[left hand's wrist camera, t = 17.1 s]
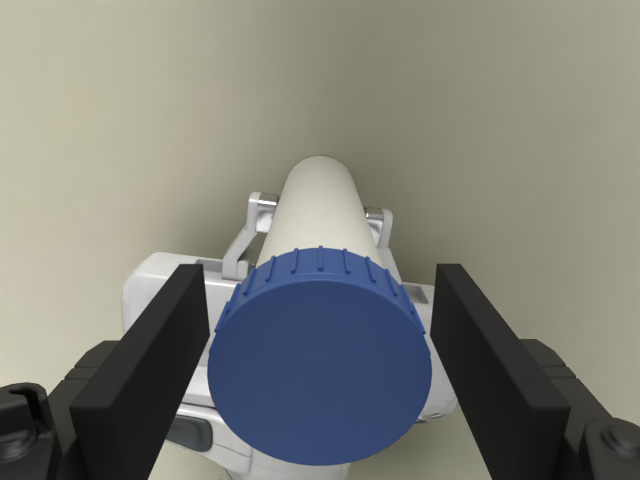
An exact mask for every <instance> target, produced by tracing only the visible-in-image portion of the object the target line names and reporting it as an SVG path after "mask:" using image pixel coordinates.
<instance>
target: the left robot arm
mask: <svg viewBox="0 0 640 480" xmlns="http://www.w3.org/2000/svg"><path fill="white" fill-rule="evenodd" d="M209 338H210V328H209V318H208V308H207V298H206V289H205V279H204V269H203V264H179V266H178V267H177V268H176V269H175V271H174V272H173V273H172V274H171V276H170V277H169V278H168V280H167V281H166V282H165V283H164V285H163V286H162V287H161V289H160V290H159V291H158V292H157V294H156V295H155V296H154V298H153V299H152V300H151V301H150V303H149V304H148V305H147V307H146V308H145V309H144V310H143V312H142V313H141V314H140V316H139V317H138V318H137V319H136V321H135V322H134V323H133V325H132V326H131V327H130V328H129V330H128V331H127V332H126V334H125V335H124V336H123V337H122V339H121V340H120V341H103V342H101V343H100V344H98V345H97V346H95V347H94V348H92V349H90V350H89V351H87V352H86V353H85V354H84V355H83V357H82V358H81V359H80V360H79V361H78V362H77V363H76V365H75V367H74V368H72V369H71V370H70V371H69V373H68V374H67V375H66V376H65V379H64V380H62V381H61V382H60V383H59V384H58V385H57V386H56V388H55V389H54V390H53V391H52V392H51V393H50V394H49V396H48V397H47V394H46V390H45V389H44V388H43V387H42V386H40V385H39V384H35V383H28V382H26V383H17V384H11V385H7V386H4V387H1V388H0V480H148V478H149V475H150V473H151V471H152V468H153V466H154V464H155V462H156V459H157V457H158V455H159V452H160V450H161V448H162V445H163V443H164V441H165V439H166V436H167V434H168V432H169V429H170V427H171V425H172V423H173V420H174V418H175V416H176V413H177V411H178V409H179V406H180V404H181V402H182V400H183V397H184V395H185V393H186V390H187V388H188V386H189V384H190V381H191V379H192V377H193V374H194V372H195V370H196V367H197V365H198V363H199V361H200V358H201V356H202V354H203V351H204V349H205V347H206V344H207V342H208V340H209ZM430 338H431V340H432V342H433V344H434V347H435V349H436V351H437V354H438V356H439V358H440V361H441V363H442V365H443V367H444V370H445V372H446V374H447V377H448V379H449V381H450V384H451V386H452V388H453V390H454V393H455V395H456V397H457V400H458V402H459V404H460V406H461V409H462V411H463V413H464V416H465V418H466V420H467V423H468V425H469V427H470V429H471V432H472V434H473V436H474V439H475V441H476V443H477V445H478V448H479V450H480V452H481V455H482V457H483V459H484V462H485V464H486V466H487V468H488V471H489V473H490V475H491V478H492V480H640V427H639V426H637V425H635V424H633V423H631V422H628V421H625V420H622V419H619V418H613V417H612V416H611V415H610V414H609V413H608V412H607V411H606V410H605V408H604V407H603V406H602V405H601V404H600V403H599V402H598V400H597V399H596V398H595V397H594V396H593V395H592V394H591V392H590V391H589V390H588V389H587V388H586V387H585V386H584V384H583V383H582V382H581V381H580V380H579V379H576V375H575V374H574V373H573V372H572V371H571V370H570V368H569V367H566V364H565V363H564V362H563V360H562V359H561V358H560V357H559V356H558V355H557V354H556V352H555V351H554V350H552V349H550V348H549V347H547V346H546V345H544V344H543V343H541V342H540V341H538V340H536V339H518V337H517V336H516V335H515V334H514V332H513V331H512V330H511V328H510V327H509V326H508V325H507V323H506V322H505V321H504V319H503V318H502V317H501V316H500V314H499V313H498V312H497V310H496V309H495V308H494V307H493V305H492V304H491V303H490V301H489V300H488V299H487V298H486V296H485V295H484V294H483V292H482V291H481V290H480V289H479V287H478V286H477V285H476V283H475V282H474V281H473V280H472V278H471V277H470V276H469V274H468V273H467V272H466V271H465V269H464V268H463V267H462V266H461V264H437V269H436V279H435V289H434V298H433V308H432V318H431V328H430Z"/></svg>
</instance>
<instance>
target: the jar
mask: <svg viewBox="0 0 640 480" xmlns="http://www.w3.org/2000/svg"><path fill="white" fill-rule="evenodd" d="M319 246H323V248H333V249H340V250H343V248H345V249H347V251H348V252H352V253H355V254H358V255H360V256H363V257H366V256H368V257H370V260H371V261H373V262H374V263H376V264H378V265H379V266H380V267H382V268H383V269H384V266H383V264H382V261H381V258H380V255H379V252H378V249H377V246H376V244H375V241H374V238H373V235H372V232H371V229H370V226H369V224H368V221H367V218H366V215H365V212H364V209H363V206H362V204H361V201H360V198H359V195H358V192H357V189H356V186H355V184H354V181H353V178H352V176H351V174H350V172H349V171H348V169H347V168H346V167H345V166H344V165H343V164H342V163H340V162H339V161H337V160H335V159H333V158H330V157H326V156H313V157H309V158H306V159H304V160H302V161H300V162H299V163H298V164H296V165H295V166H294V167H293V169H292V170H291V171H290V173H289V174H288V177H287V179H286V182H285V185H284V188H283V190H282V193H281V196H280V199H279V202H278V205H277V208H276V210H275V213H274V216H273V219H272V222H271V225H270V227H269V230H268V233H267V236H266V239H265V242H264V245H263V247H262V250H261V253H260V256H259V259H258V262H257V264H256V267H255V268H258V267H259V266H260V265H262V264H263V263H265V262H267V261H269V260H270V259H271V256H273V255H275V257H277V256H279V255H282V254H284V253H287V252H291V251H294V248H298V250H299V249H307V248H319Z"/></svg>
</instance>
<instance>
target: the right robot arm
mask: <svg viewBox="0 0 640 480" xmlns="http://www.w3.org/2000/svg"><path fill="white" fill-rule="evenodd" d="M278 202H279V195H274V194H267V193H261V192H252V193H251V195H250V197H249V202H248V210H247V223H246V225H245V226H244V227H243V229H242V230H241V231H240V233H239V234H238V235H237V237H236V238H235V239H234V241H233V242H232V243H231V245H230V247H229V248H228V250H227V252H226V254H225V256H224V257H223V260H221V259H213V258H205V257H197V256H189V255H181V254H173V253H165V252H156V253H153V254H152V255H150V256H149V257H148V258H147V259H145V260H144V261H143V262H142V263H141V264H139V265H138V266H137V267H136V268H135V269H134V270H133V272H132V273H131V274H130V275H129V276H128V278H127V279H126V281H125V283H124V285H123V288H122V296H121V306H122V322H123V331H124V335H125V334H126V332H127V331H128V330H129V328H130V327H131V326H132V325H133V323H134V322H135V321H136V319H137V318H138V317H139V316H140V314H141V313H142V312H143V310H144V309H145V308H146V307H147V305H148V304H149V303H150V301H151V300H152V299H153V298H154V296H155V295H156V294H157V292H158V291H159V290H160V289H161V287H162V286H163V285H164V283H165V282H166V281H167V280H168V278H169V277H170V276H171V274H172V273H173V272H174V271H175V269H176V268H177V267H178V266H179V264H203V269H204V279H205V289H206V298H207V308H208V318H209V328H210V338H209V340H208V342H207V344H206V347H205V349H204V351H203V354H202V356H201V358H200V361H199V363H198V365H197V367H196V370H195V372H194V374H193V377H192V379H191V381H190V384H189V386H188V388H187V390H186V393H185V395H184V397H183V400H182V402H181V404H180V406H179V409H178V411H177V413H176V416H175V418H174V420H173V423H172V425H171V427H170V429H169V432H168V434H167V436H166V439H165V442H168V443H171V444H173V445H176V446H179V447H181V448H184V449H186V450H189V451H191V452H194V453H196V454H198V455H201V456H203V457H205V458H207V459H209V460H211V461H213V462H215V463H216V464H218V465H220V466H222V467H223V472H222V475H221V477H220V480H346V478H347V476H348V473H349V470H350V467H351V462H350V463H345V464H340V465H330V466H309V465H300V464H294V463H289V462H285V461H282V460H279V459H275V458H273V457H270V456H268V455H266V454H263V453H261V452H260V451H258V450H256V449H254V448H252V447H251V446H249V445H248V444H247V443H245V442H244V441H242V440H241V439H240V438H239V437H238V436H237V435H236V434H234V433H233V432H232V431H231V430H230V428H229V427H228V426H227V425H226V424H225V422H224V421H223V420H222V418H221V416H220V415H219V413H218V412H217V410H216V408H215V405H214V403H213V401H212V398H211V394H210V391H209V387H208V379H207V363H208V358H209V349H210V346H211V344H212V342H213V339H214V337H215V334H216V333H215V332H214V330H215V327H216V325H217V323H218V320H219V318H220V316H221V313H222V311H223V309H224V306H225V304H226V302H227V301H230V298H231V296H232V294H233V291H234V289H235V286H236V284H237V283H240V284H241V283H242V281H243V280H244V279H245V278H246V277H247V276H248V275H249V274H250V272H251V269H252V268H253V267H256V264H253V253H254V250H253V248H248V245H249V244H250V243H251V241H252V240H253V239H254V237H255V236H256V235H257V233H258V232H263V233H268V230H269V227H270V225H271V222H272V219H273V216H274V213H275V210H276V208H277V205H278ZM363 209H364V212H365V215H366V218H367V221H368V224H369V226H370V229H371V232H372V235H373V238H374V241H375V244H376V246H377V249H378V252H379V255H380V258H381V261H382V264H383V266H384V269H386V268H387V269H388V270H389V271H390V274H391V276H392V277H393V278H394V279H395V280H396V281H397V282H398V284H399V285H401V284H403V286H404V287H405V290H406V292H407V294H408V297H409V299H410V302H411V303H414V306H415V308H416V311H417V313H418V315H419V318H420V320H421V322H422V325H423V327H424V329H425V332H426V334H424V338H425V340H426V342H427V345H428V347H429V350H430V352H431V356H430V357H431V362H432V381H431V388H430V391H429V395H428V399H427V401H426V404H425V406H424V408H423V410H422V412H421V414H420V415H419V417H418V419H417V420H416V421H415V423H414V424H427V423H429V422H430V419H435V418H439V417H442V416H444V415H446V414H450V413H452V412H453V411H454V409H455V407H456V405H457V402H458V400H457V397H456V395H455V393H454V390H453V388H452V386H451V384H450V381H449V379H448V377H447V374H446V372H445V370H444V367H443V365H442V363H441V361H440V358H439V356H438V354H437V351H436V349H435V347H434V344H433V342H432V340H431V338H430V328H431V318H432V308H433V298H434V289H435V286H433V285H424V284H416V283H408V282H402V280H401V277H400V275H399V272H398V269H397V266H396V264H395V261H394V258H393V256H392V253H391V250H390V248H389V246H388V244H389V239H390V234H391V229H392V224H393V214H392V212H391V211H390V209H383V208H375V207H367V206H364V207H363Z"/></svg>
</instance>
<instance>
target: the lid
mask: <svg viewBox="0 0 640 480" xmlns="http://www.w3.org/2000/svg"><path fill="white" fill-rule="evenodd" d="M214 332H215V333H216V334H215V337H214V339H213V342H212V344H211V346H210V349H209V358H208V363H207V379H208V387H209V391H210V394H211V398H212V401H213V403H214V405H215V408H216V410H217V412H218V413H219V415H220V416H221V418H222V420H223V421H224V422H225V424H226V425H227V426H228V427H229V428H230V430H231V431H232V432H233V433H234V434H236V435H237V436H238V437H239V438H240V439H241V440H242V441H244V442H245V443H247V444H248V445H249V446H251V447H252V448H254V449H256V450H258V451H260V452H261V453H263V454H266V455H268V456H270V457H273V458H275V459H279V460H282V461H285V462H289V463H294V464H300V465H309V466H330V465H340V464H345V463H350V462H354V461H357V460H360V459H364V458H367V457H369V456H371V455H373V454H376V453H378V452H380V451H381V450H383V449H385V448H387V447H388V446H390V445H391V444H393V443H394V442H395V441H397V440H398V439H399V438H401V437H402V436H403V435H404V434H405V433H406V432H407V431H408V430H409V429H410V427H411V426H412V425H413V424H414V423H415V421H416V420H417V419H418V417H419V415H420V414H421V412H422V410H423V408H424V406H425V404H426V401H427V399H428V395H429V391H430V388H431V381H432V362H431V357H430V356H431V352H430V350H429V347H428V345H427V342H426V340H425V338H424V334H426V332H425V329H424V327H423V325H422V322H421V320H420V318H419V315H418V313H417V311H416V308H415V306H414V303H411V302H410V299H409V297H408V294H407V292H406V290H405V287H404V286H403V284H401V285H399V284H398V282H397V281H396V280H395V279H394V278H393V277H392V276H391V274H390V271H389V270H388V269H387V268H386V269H383V268H382V267H380V266H379V265H378V264H376V263H374V262H373V261H371V260H370V257H368V256H366V257H363V256H360V255H358V254H355V253H352V252H348V251H347V249H345V248H343V250H340V249H333V248H323V246H319V248H307V249H299V250H298V248H294V251H291V252H287V253H284V254H282V255H279V256H277V257H275V255H273V256H271V259H270V260H269V261H267V262H265V263H263V264H262V265H260V266H259V267H258V268H255V267H253V268H252V269H251V272H250V274H249V275H248V276H247V277H246V278H245V279H244V280H243V281H242V283H241V284H240V283H237V284H236V286H235V289H234V291H233V294H232V296H231V298H230V301H227V302H226V304H225V306H224V309H223V311H222V313H221V316H220V318H219V320H218V323H217V325H216V327H215V330H214Z"/></svg>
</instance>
